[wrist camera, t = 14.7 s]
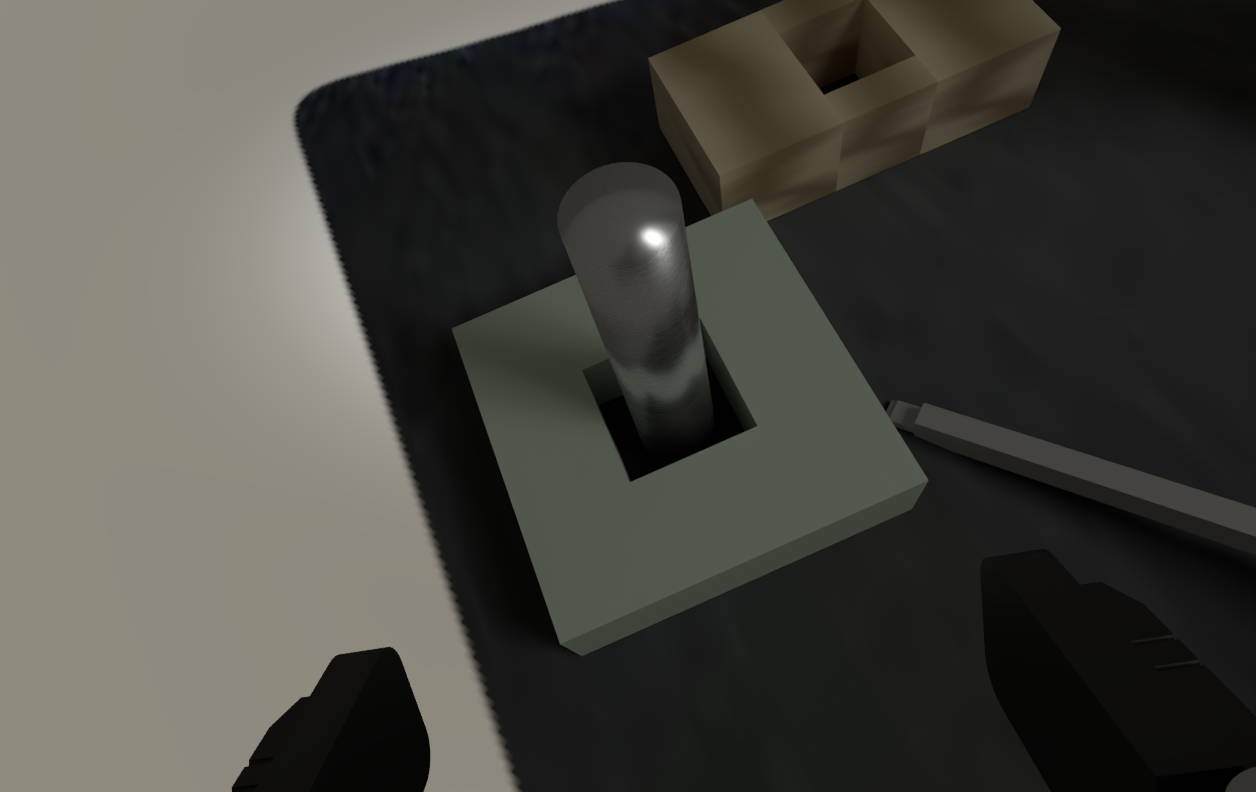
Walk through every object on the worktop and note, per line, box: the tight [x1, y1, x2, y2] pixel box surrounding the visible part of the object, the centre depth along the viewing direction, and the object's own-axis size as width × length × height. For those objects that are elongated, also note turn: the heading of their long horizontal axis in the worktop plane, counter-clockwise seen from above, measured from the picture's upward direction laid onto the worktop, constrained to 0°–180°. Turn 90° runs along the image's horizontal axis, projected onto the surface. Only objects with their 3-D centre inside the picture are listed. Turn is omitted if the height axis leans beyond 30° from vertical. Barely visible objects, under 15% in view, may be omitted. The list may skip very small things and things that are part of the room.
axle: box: [557, 162, 716, 467], centre depth 26 cm, size 3×3×15 cm
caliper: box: [886, 400, 1256, 555], centre depth 26 cm, size 20×1×6 cm, turn 60°
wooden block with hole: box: [648, 0, 1061, 221], centre depth 37 cm, size 16×8×4 cm, turn 112°
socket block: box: [452, 199, 928, 656], centre depth 32 cm, size 14×14×4 cm
